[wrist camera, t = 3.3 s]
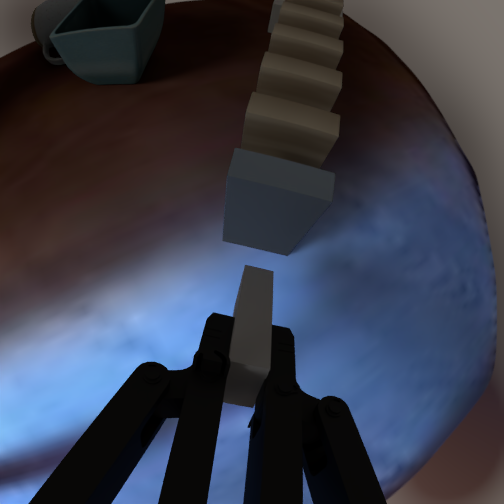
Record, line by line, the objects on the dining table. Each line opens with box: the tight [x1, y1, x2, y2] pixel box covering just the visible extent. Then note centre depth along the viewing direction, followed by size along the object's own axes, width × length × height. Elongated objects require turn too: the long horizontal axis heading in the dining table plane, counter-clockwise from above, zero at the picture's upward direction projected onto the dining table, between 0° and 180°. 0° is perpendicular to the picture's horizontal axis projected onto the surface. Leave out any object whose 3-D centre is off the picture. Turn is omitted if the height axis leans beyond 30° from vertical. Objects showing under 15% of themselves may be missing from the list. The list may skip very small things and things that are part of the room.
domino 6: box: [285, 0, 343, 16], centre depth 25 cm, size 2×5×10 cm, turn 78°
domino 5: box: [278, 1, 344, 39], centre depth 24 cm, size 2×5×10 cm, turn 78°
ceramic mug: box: [31, 0, 80, 65], centre depth 25 cm, size 11×8×8 cm
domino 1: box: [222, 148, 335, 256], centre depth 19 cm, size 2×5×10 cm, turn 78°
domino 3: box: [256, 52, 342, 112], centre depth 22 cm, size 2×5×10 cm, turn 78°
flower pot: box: [49, 0, 165, 85], centre depth 23 cm, size 9×9×9 cm
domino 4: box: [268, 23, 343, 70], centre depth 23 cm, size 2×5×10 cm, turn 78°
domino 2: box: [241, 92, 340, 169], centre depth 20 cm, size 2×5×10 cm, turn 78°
